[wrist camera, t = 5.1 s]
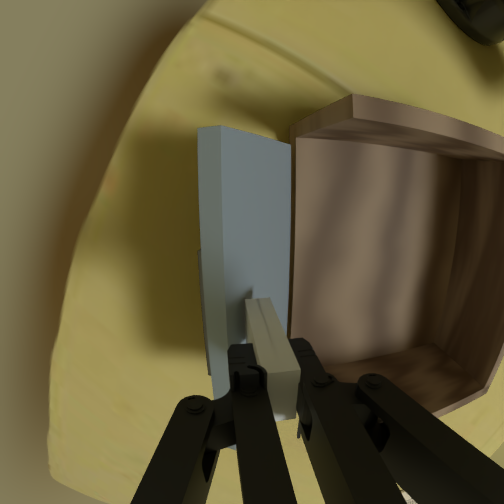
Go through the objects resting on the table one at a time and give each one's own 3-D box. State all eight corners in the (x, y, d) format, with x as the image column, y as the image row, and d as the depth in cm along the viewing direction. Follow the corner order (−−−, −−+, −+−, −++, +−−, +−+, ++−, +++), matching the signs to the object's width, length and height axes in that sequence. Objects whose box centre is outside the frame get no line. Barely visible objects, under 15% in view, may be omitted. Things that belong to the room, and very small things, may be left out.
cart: (455, 139, 25) (540, 141, 14) (427, 348, 32) (481, 401, 21) (289, 112, 23) (350, 70, 11) (282, 377, 30) (313, 464, 18)
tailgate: (290, 144, 22) (220, 125, 12) (284, 367, 27) (235, 450, 17) (266, 145, 22) (183, 130, 13) (265, 362, 28) (210, 441, 18)
